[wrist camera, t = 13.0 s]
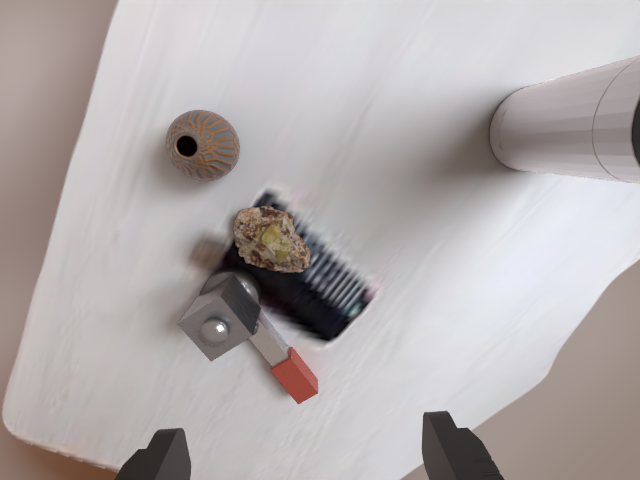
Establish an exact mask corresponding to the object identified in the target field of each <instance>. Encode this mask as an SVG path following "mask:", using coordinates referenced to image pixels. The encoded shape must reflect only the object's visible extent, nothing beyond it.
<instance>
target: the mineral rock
mask: <svg viewBox="0 0 640 480" xmlns="http://www.w3.org/2000/svg"><path fill="white" fill-rule="evenodd" d="M237 215H238V216H237V219H235V221H234V223H235V225H234V226H233V232H234V238H235V245H236V246H237V248H239V252H238V253H239V255H240V256H241V257H244V259H245V262H246V263H250V264H252V265H256V266H257V267H261V268H262V267H266V268H267V269H268V270H272V271H280V272H282V273H283V272H288V273H290V272H303V271H304V270H306V269H308V266H309V264H310V263H311V261H310V256H311V251H310V249H309V247H307V245H306V243H305V242H304V241H303V240H302V238H301V237H300V236H298V235H297V233H296V232H295V227H294V226H293V224H292V222H293V221H294V220H293V217H292V215H289V213H285V211H279V210H274V208H272V207H270V206H267V205H263V206H261V207H258V208H255V207H252V208H248V209H243V210H240V211H239V212H238V214H237Z"/></svg>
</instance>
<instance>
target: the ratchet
mask: <svg viewBox="0 0 640 480" xmlns="http://www.w3.org/2000/svg"><path fill="white" fill-rule="evenodd" d="M232 274H234V275H235V276H236V277H237V278H238V280H239V281H240V282H241V284H242V285H243V286H244V287H245V289H246V290H247V291H248V292H249V294H250V295H251V296H252V297H253V299H254V300H255V301H256V303H257V304H258V305H259V303H260V299H261V287H260V284H259V282H258V280H257V279H256V277H255V276H254V275H253V274H252V273H250V272H249V271H247V270H245V269H243V268H239V267H225V268H222V269H220V270H218V271H216V272H215V273H214V274H213V275H212V276H211V277H210V279H209V280H208V281H207V283H206V284H205V285H204V286H203V288H202V290H201V292H200V294H199V296H200V295H201V294H203V293H204V292H206V291H207V290H209V289H210V288H212V287H214V286H215V285H217V284H218V283H220V282H221V281H223V280H224V279H226V278H227V277H229V276H231V275H232ZM249 339H250V340H251V341H252V343H253V344H254V345H255V346H256V347H257V349H258V350H259V351H260V352H261V354H262V355H263V356H264V357H265V358H266V360H267V361H268V362H269V363H270V364H271V370H270V371H271V372H272V373H273V374H274V376H275V377H276V378H277V379H278V381H279V382H280V383H281V384H282V385H283V387H284V388H285V389H286V390H287V391H288V393H289V394H290V395H291V396H292V397H293V399H294V400H295V401H296V402H297V404H300V403H301V402H303V401H305V400H307V399H308V398H310V397H312V396H314V395H315V394H317V393H318V379H317V378H316V377H315V376H314V374H313V373H312V372H311V371H310V369H309V368H308V367H307V365H306V364H305V363H304V362H303V360H302V359H301V358H300V357H299V355H298V354H297V353H296V351H295V350H294V349H293V348H292V347H291V348H289V346H288V345H287V344H286V343H285V341H284V340H283V339H282V338H281V336H280V335H279V334H278V332H277V331H276V330H275V329H274V327H273V326H272V325H271V324H270V322H269V321H268V320H267V319H266V317H265V316H264V315H263V313H262V312H261V311H260V313H259V317H258V320H257V323H256V327H255V330H254V333H253V336H252V337H250V338H249Z"/></svg>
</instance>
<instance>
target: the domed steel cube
mask: <svg viewBox="0 0 640 480" xmlns="http://www.w3.org/2000/svg"><path fill="white" fill-rule="evenodd" d="M260 310H261V308H260V306H259V305H258V304H257V303H256V301H255V300H254V299H253V297H252V296H251V295H250V294H249V292H248V291H247V290H246V289H245V287H244V286H243V285H242V284H241V282H240V281H239V280H238V278H237V277H236V276H235V275H234V274H232V275H231V276H229V277H227V278H226V279H224V280H223V281H221V282H220V283H218V284H217V285H215V286H214V287H212V288H210V289H209V290H207V291H206V292H204V293H203V294H201V295H200V296H198V297H197V298H196V299H195V300H194V302H193V303H192V304H191V306H190V307H189V308H188V310H187V311H186V313H185V314H184V315H183V317H182V318H181V319H180V321H179V322H178V323H177V324H178V325H179V326H180V327H181V328H182V329H183V331H184V332H185V333H186V334H187V335H188V336H189V337H190V339H191V340H192V341H193V342H194V343H195V344H196V345H197V346H198V348H199V349H200V350H201V351H202V352H203V353H204V354H205V355H206V357H207V358H208V359H209V360H210V361H213V360H214V359H216V358H218V357H219V356H221V355H222V354H224V353H226V352H227V351H229V350H231V349H232V348H234V347H236V346H237V345H239V344H240V343H242V342H244V341H245V340H247V339H249V338H250V337H252V336H253V333H254V330H255V327H256V323H257V320H258V317H259V313H260Z"/></svg>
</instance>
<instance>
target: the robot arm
mask: <svg viewBox="0 0 640 480" xmlns="http://www.w3.org/2000/svg"><path fill="white" fill-rule="evenodd" d="M490 143H491V148H492V150H493V152H494V154H495V156H496V157H497V159H498V160H499V161H500V162H501V163H503V164H504V165H505V166H507V167H509V168H512V169H515V170H522V171H531V172H539V173H548V174H557V175H566V176H575V177H584V178H593V179H602V180H611V181H620V182H630V183H640V56H637V57H633V58H629V59H626V60H622V61H619V62H615V63H611V64H608V65H604V66H600V67H597V68H593V69H590V70H586V71H582V72H579V73H575V74H572V75H568V76H564V77H561V78H557V79H553V80H549V81H546V82H542V83H539V84H535V85H532V86H528V87H525V88H522V89H520V90H518V91H516V92H514V93H512V94H511V95H510V96H509V97H507V98H506V99H505V100H504V101H503V102H502V104H501V105H500V106H499V108H498V109H497V111H496V113H495V114H494V117H493V120H492V122H491V127H490ZM422 455H423V461H424V465H425V469H426V472H427V474H428V477H429V480H504V479H503V477H502V475H500V473H499V470H498V468H497V466H496V465H495V463H494V462H493V461H492V459H491V456H490V455H489V453H488V451H487V449H486V448H485V446H484V444H483V443H482V441H481V440H480V439H479V438H478V437H477V436H475V435H474V434H473V433H472V432H471V431H470V430H469V429H468V428H457V427H456V425H455V423H454V421H453V419H452V417H451V416H450V414H449V413H448V412H447V411H438V412H425V413H424V415H423V432H422ZM190 475H191V461H190V456H189V452H188V447H187V442H186V437H185V433H184V430H183V429H182V428H176V429H161V430H158V431H156V433H155V434H154V436H153V438H152V440H151V441H150V443H149V445H148V447H147V449H138V450H137V451H136V452H135V454H134V455H133V456H132V457H131V458H130V459H129V460H128V461H127V462H126V463H125V464H124V465H123V466H122V468H121V469H120V471H119V473H118V475H117V476H116V478H115V480H190Z"/></svg>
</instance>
